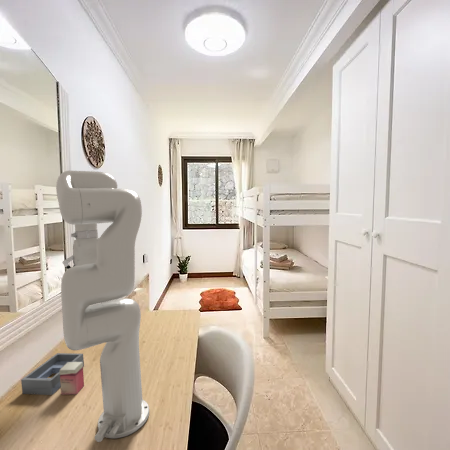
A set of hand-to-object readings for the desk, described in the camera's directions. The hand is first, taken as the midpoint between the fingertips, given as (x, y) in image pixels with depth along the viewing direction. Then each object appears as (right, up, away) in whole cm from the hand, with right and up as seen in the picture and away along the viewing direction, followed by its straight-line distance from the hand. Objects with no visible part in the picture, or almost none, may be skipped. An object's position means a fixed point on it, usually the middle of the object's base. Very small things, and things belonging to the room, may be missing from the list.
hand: (90, 279), depth 102 cm
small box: (+5, -30, -20) cm, 37 cm away
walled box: (-4, -30, -14) cm, 34 cm away
